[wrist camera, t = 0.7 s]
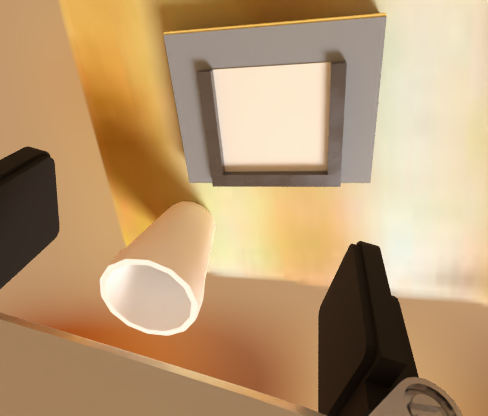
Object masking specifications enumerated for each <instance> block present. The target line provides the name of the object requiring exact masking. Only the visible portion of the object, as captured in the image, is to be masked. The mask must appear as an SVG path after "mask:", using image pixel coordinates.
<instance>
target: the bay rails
mask: <svg viewBox="0 0 488 416" xmlns="http://www.w3.org/2000/svg"><path fill="white" fill-rule="evenodd" d="M346 70H347V62H346V61H340V62H331V74H330V105H329V136H328V167H327V171H250V172H225V166H224V158H223V149H222V141H221V133H220V124H219V116H218V108H217V99H216V91H215V83H214V75H213V69H212V70H200V71H198V72H197V77H198V84H199V91H200V98H201V105H202V113H203V120H204V127H205V134H206V141H207V148H208V155H209V162H210V169H211V176H212V183H213V186H281V187H340V184H341V165H342V146H343V127H344V108H345V89H346Z"/></svg>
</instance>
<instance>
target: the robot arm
mask: <svg viewBox="0 0 488 416" xmlns="http://www.w3.org/2000/svg"><path fill="white" fill-rule="evenodd" d="M58 232H59V216H58V203H57V190H56V175H55V164H54V160H53V159H52V158H50V155H49V153H47V152H46V151H42V150H39V149H35V148H32V147H24V148H22V149H20V150H19V151H17V152H15V153H13V154H11V155H9V156H7V157H5V158H3V159H1V160H0V289H1V288H2V287H3V286H4V285H5V284H6V283H7V282H9V281H10V280H11V279H12V278H13V277H14V276H15V275H16V274H17V273H18V272H19V271H21V270H22V269H23V268H24V267H25V266H26V265H27V264H28V263H29V262H30V261H31V260H32V259H33V258H35V257H36V256H37V255H38V254H39V253H40V252H41V251H42V250H43V249H44V248H45V247H46V246H48V245H49V244H50V243H51V242H52V241H53V240H54V239H55V238H56V237H57V235H58ZM318 346H319V350H318V354H319V355H318V360H319V362H318V364H319V365H318V369H319V371H318V375H319V376H318V379H319V380H318V381H319V382H318V383H319V384H318V385H319V386H318V388H319V389H318V406H319V407H318V412H316V411H313V410H311V409H308V408H305V407H303V406H300V405H297V404H293V403H291V402H287V401H284V400H281V399H278V398H275V397H272V396H269V395H266V394H263V393H260V392H257V391H254V390H251V389H248V388H244V387H242V386H239V385H235V384H232V383H229V382H226V381H223V380H219V379H216V378H213V377H210V376H206V375H203V374H200V373H197V372H194V371H190V370H187V369H184V368H181V367H178V366H174V365H171V364H167V363H165V362H161V361H158V360H155V359H152V358H149V357H145V356H142V355H139V354H136V353H132V352H129V351H126V350H122V349H119V348H116V347H112V346H109V345H106V344H103V343H99V342H96V341H93V340H90V339H86V338H83V337H80V336H77V335H73V334H70V333H67V332H63V331H60V330H57V329H53V328H50V327H47V326H43V325H40V324H37V323H34V322H30V321H27V320H23V319H20V318H17V317H14V316H10V315H6V314H3V313H0V416H463V415H462V413H461V411H460V409H459V408H458V406H457V405H456V403H455V402H454V400H453V399H452V398H451V397H450V396H449V395H448V394H447V393H446V392H445V391H444V390H442V389H441V388H440V387H438V386H437V385H436V384H434V383H432V382H430V381H428V380H426V379H422V378H419V377H418V373H417V369H416V365H415V361H414V358H413V354H412V350H411V346H410V342H409V338H408V335H407V331H406V327H405V323H404V319H403V315H402V312H401V308H400V304H399V301H398V299H397V298H396V297H395V296H391V292H390V288H389V284H388V280H387V276H386V271H385V267H384V263H383V259H382V255H381V251H380V248H379V246H376V245H372V244H369V243H365V242H362V241H359V242H358V243H357V244H356V245H355V244H351V245H350V246H349V248H348V250H347V252H346V254H345V256H344V258H343V260H342V262H341V264H340V267H339V269H338V271H337V273H336V275H335V277H334V279H333V281H332V283H331V285H330V287H329V289H328V292H327V294H326V296H325V298H324V300H323V302H322V304H321V307H320V310H319V345H318Z"/></svg>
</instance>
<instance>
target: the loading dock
mask: <svg viewBox="0 0 488 416" xmlns="http://www.w3.org/2000/svg"><path fill="white" fill-rule="evenodd" d="M386 14H387V13H376V14H364V15H353V16H341V17H330V18H318V19H306V20H295V21H283V22H271V23H260V24H248V25H236V26H225V27H213V28H201V29H190V30H178V31H168V32H164V41H165V46H166V52H167V58H168V63H169V69H170V75H171V80H172V86H173V92H174V97H175V103H176V109H177V114H178V120H179V126H180V131H181V137H182V143H183V148H184V154H185V160H186V165H187V171H188V177H189V182H190V183H212V176H211V169H210V162H209V155H208V148H207V141H206V134H205V127H204V120H203V113H202V105H201V98H200V91H199V84H198V77H197V72H198V71H200V70H212V69H213V75H214V83H215V91H216V99H217V108H218V116H219V124H220V133H221V141H222V149H223V158H224V166H225V172H250V171H327V167H328V136H329V105H330V74H331V62H340V61H346V62H347V70H346V89H345V108H344V127H343V146H342V165H341V183H370V180H371V169H372V159H373V149H374V139H375V129H376V118H377V108H378V98H379V88H380V77H381V67H382V57H383V47H384V37H385V26H386Z"/></svg>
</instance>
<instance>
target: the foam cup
mask: <svg viewBox="0 0 488 416" xmlns="http://www.w3.org/2000/svg"><path fill="white" fill-rule="evenodd" d="M215 226H216V224H215V221H214V219H213V216H212V214H211V213H210V212H209V211H208V210H207V209H206V208H205V207H204V206H202V205H199V204H197V203H195V202H190V201H181V202H178V203H176V204H174V205H172V206H171V207H170V208H168V209H167V210H166V211H165V212H164V213H163V214H162V215H161V216H160V217H159V218H158V219H157V220H156V221H154V222H153V223H152V224H151V225H150V226H149V227H148V228H147V229H146V230H145V231H144V232H143V233H142V234H140V235H139V236H138V237H137V238H136V239H135V240H134V241H133V242H132V243H131V244H130V245H129V246H128V247H126V248H124V249H122V250H120V252H119V253H118V254H117V256H116V257H115V258H114V259H113V261H112V262H111V263H110V264H109V266H108V267H107V269H106V271H105V272H104V273H103V275H102V277H101V278H100V289H101V296H102V298H103V300H104V301H105V303H106V304H107V306H108V308H109V309H110V311H111V312H112V313H113V314H114V315H115V316H117V317H118V318H119V319H120V320H122V321H123V322H124V323H125V324H127V325H128V326H131V327H133V328H135V329H138V330H140V331H143V332H145V333H147V334H158V335H171V334H175V333H179V332H182V331H185V330H186V329H187V328H188V327H189V326H190V325H191V324H192V323H193V322H194V321H195V320H196V318H197V315H198V313H199V310H200V307H201V304H202V302H203V295H204V288H205V285H204V283H205V278H206V273H207V268H208V263H209V258H210V254H211V249H212V244H213V239H214V233H215Z"/></svg>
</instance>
